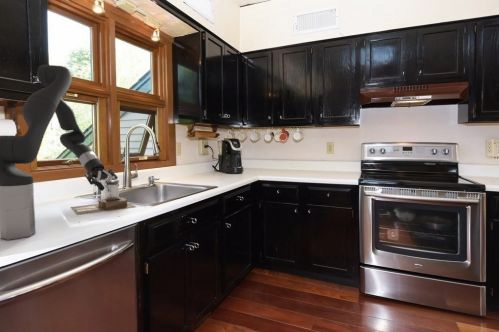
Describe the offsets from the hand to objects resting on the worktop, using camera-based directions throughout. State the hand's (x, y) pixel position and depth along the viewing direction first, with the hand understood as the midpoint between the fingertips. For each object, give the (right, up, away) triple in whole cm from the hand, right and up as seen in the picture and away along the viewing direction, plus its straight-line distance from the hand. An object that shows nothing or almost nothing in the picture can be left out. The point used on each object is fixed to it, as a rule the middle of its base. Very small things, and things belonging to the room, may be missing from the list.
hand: (110, 188), depth 134 cm
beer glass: (-12, -8, +20) cm, 24 cm away
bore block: (-2, -10, -2) cm, 11 cm away
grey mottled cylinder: (+1, -8, 0) cm, 8 cm away
